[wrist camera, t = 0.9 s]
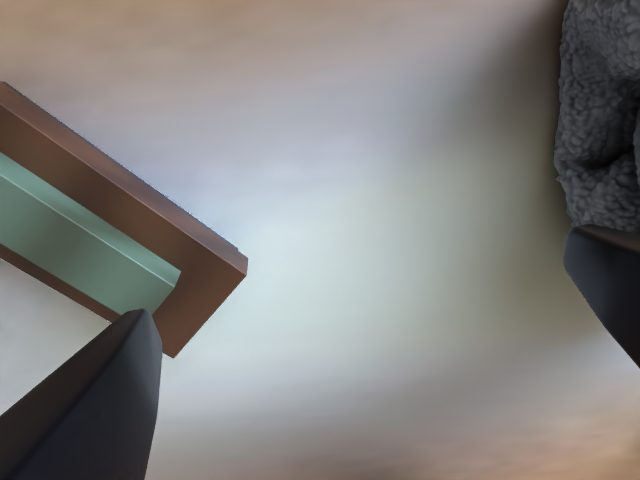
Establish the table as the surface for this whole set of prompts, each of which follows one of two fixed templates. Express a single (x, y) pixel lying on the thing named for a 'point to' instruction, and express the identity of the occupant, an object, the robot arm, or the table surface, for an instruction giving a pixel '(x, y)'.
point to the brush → (104, 229)
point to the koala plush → (600, 113)
